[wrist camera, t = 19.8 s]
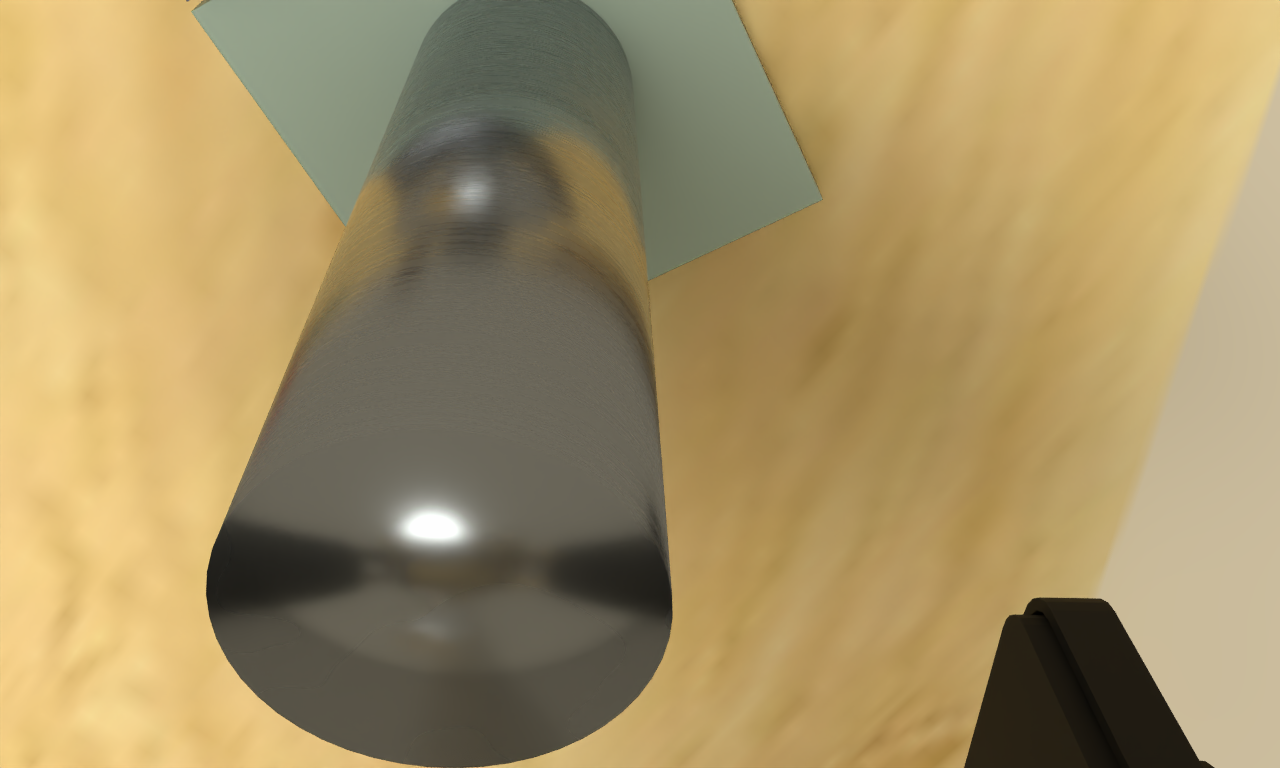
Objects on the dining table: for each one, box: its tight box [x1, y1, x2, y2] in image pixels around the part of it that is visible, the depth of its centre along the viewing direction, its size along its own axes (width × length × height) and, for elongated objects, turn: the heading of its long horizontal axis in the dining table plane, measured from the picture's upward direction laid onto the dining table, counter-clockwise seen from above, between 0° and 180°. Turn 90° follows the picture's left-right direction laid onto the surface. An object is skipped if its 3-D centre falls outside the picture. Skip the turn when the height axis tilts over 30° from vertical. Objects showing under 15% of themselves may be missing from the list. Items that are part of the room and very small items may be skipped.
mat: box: [191, 0, 823, 281], centre depth 20 cm, size 8×8×1 cm
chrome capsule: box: [206, 0, 672, 768], centre depth 14 cm, size 4×4×12 cm
